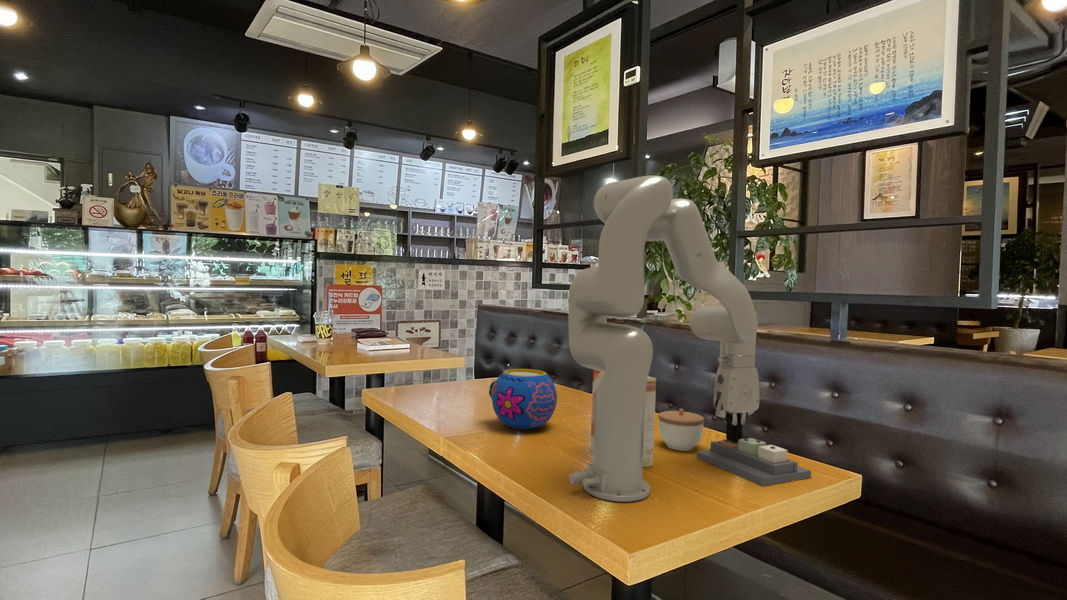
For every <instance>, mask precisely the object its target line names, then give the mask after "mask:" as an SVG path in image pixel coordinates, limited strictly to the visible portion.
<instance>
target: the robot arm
mask: <svg viewBox="0 0 1067 600" xmlns="http://www.w3.org/2000/svg"><path fill="white" fill-rule="evenodd" d="M673 189H674V188H673V185H672V183H671V182H670V180H669V179H668V178H666V177H664V176H661V175H643V176H637V177H633V178H628V179H624V180H618V181H617V180H616V181H613V182H609V183H606V184H604V185H602V186H601V187H599V188H598V190H597V191H596V193H595V195H594V199H593V208H594V212H595V214H596V216H597V218H598V219H599V220H600V221H601V222H602V223H603V224H604V225H603V228H602V230H601V232H600V237H599V241H598V263H597V264H598V265H597V266H595V267H592V266H591V267H587V268H584V269H582V270H580V271H579V272H578V273H577V274H575V276H574V277H573V278H572V280H571V284H570V285H569V290H568V296H567V297H568V299H567V301H568V303H567V305H568V306H567V310H568V311H567V312H568V313H567V315H568V316H567V317H568V344H569V350H570V351H569V352H570V354H571V357H572V358H573V360H574V362H576V363H577V364H578V365H579V366H581V367H584V368H585V369H587V368H588V369H591V370H593V369H595V370H599V371H603V372H604V375H603V377H602V379H601V381H600V383H599V385H598V387H597V390H596V393H595V403H594V408H595V409H594V434H593V451H592V460H591V461H592V462H591V463H588V464H587V465H586V469H584V470H583V471H582V472H581V471H579V472H571V473H569V476H568V480H569V482H570V484H572V485H574V484H580V483H582V486H583V489H584V490H585V491H586V492H587V493H588V494H589V495H590V496H593V497H596V498H598V499H601V500H606V501H610V502H621V503H622V502H623V503H625V502H627V503H629V502H635V501H636V502H637V501H640V500H644V499H646V498H647V497H648V496H649V495H650V494H651V486H650V484H649V483H648V482H647V481H646V480H645V479H643V468H644V467H643V445H644V421H645V396H646V385H647V379H648V376H649V373H650V369H651V367H652V366H651V365H652V361H653V357H654V356H653V354H654V347H653V342H652V340H651V338H650V336H649V335H648V334H647V333H646V332H645V331H644V330H643V329H641V328H639V327H636V326H634V325H629V324H625V325H623V324H615V322H607V317H610V318H611V317H612V318H631V317H633V316H636V315H638V314H639V313H640V312H641V310H642V308H643V306H644V302H645V300H644V299H645V247H646V242H657V241H658V242H659V241H660V242H661V241H663V242H664V245H665V246H666V248H667V251H668V254H669V256H670V259H671V262H672V265H673V267H674V270H675V272H676V274H677V276H678V278H680V279H681V280H682V281H684V282H685V283H688V284H689V285H691V286H693V287H695V288H698V289H700V290H701V291H704V292H706V293H707V294H709V295H711V296H712V297H713V298H715V299H717V301H718V302H720V303H721V305H722V306H713V305H708V306H707V305H705V306H701V307H699V308H697V309H696V310H694V312H693V313H692V314H691V316H690V319H689V326H690V329H691V332H692V333H693V335H695V336H696V337H697V338H700V339H703V340H707V341H708V340H709V341H716V342H720V345H719V346H720V348H719V351H720V352H719V357H718V358H717V361H718V363H719V366H718V367H717V371H716V376H715V381H714V388H713V406H714V409H715V416H716V417H719V418H722V419H724V423H726V427H725V428H726V431H725V432H726V434H725V439H726V440H729V441H732V442H735V443H737V442H739V439H743V425H745V423H746V419H747V417H748V416H750V415H752V414H754V412H755V411H758V409H759V407H760V381H759V374H758V370H757V369H758V368H757V367H756V366H755V364H756V363H755V362H756V344H757V343H756V342H757V341H756V340H757V339H756V338H757V331H758V326H759V324H758V317H757V316H758V315H757V312H756V310H755V309H756V308H755V306H754V303H753V300H752V297H751V294H750V293H749V291H748V289H747V288H746V287H745V285H744V284H743V283H742V282H741V281H740V280H739V279H738V278H737V277H736V276H735V275H734V274H733V273H732V272H731V271H730V270H729V269H727V268H726V267H725V266H723V265H722V264H721V263H720V261H718V260H717V258H716V255H715V251H714V249H713V246H712V243H711V241H710V236H709V234H708V232H707V229H706V226H705V224H704V221H703V218H702V216H701V213H700V210H699V208H698V206H697V205H696V203H695V202H694V201H692V200H691V199H688V198H682V197H681V198H673V197H674V190H673Z"/></svg>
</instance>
